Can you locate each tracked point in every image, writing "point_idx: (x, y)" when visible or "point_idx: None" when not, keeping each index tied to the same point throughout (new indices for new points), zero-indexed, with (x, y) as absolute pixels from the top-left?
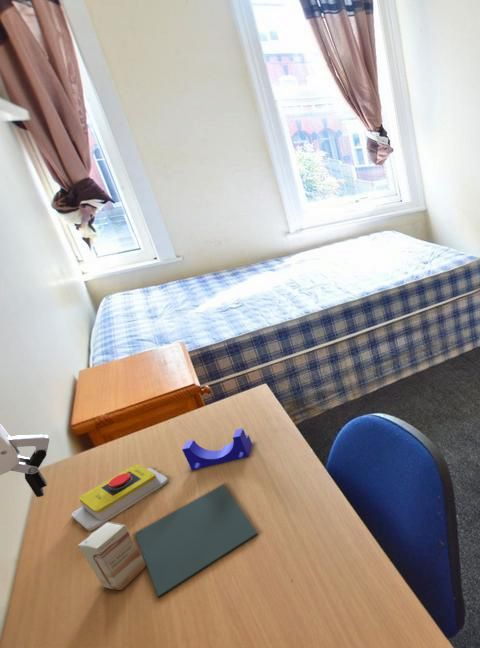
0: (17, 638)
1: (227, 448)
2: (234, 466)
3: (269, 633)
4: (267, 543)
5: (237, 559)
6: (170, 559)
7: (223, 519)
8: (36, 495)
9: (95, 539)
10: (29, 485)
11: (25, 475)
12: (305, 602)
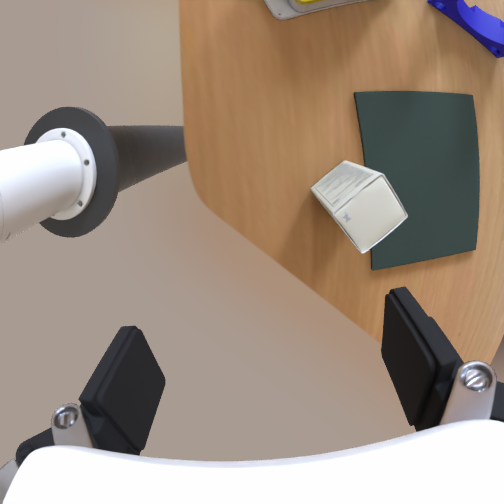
0: (207, 206)
1: (483, 20)
2: (482, 60)
3: None
4: (473, 271)
5: (447, 272)
6: None
7: (461, 183)
8: (385, 362)
9: (362, 223)
10: (400, 400)
11: (419, 411)
12: None
